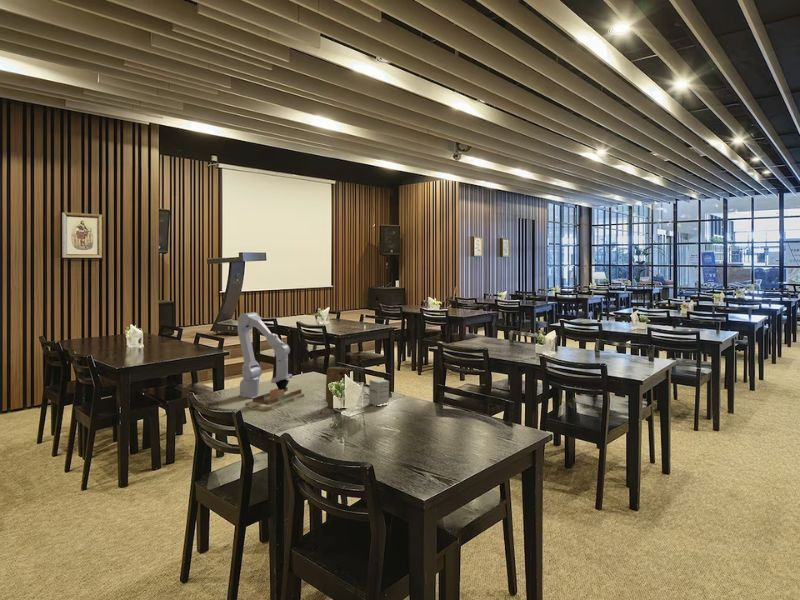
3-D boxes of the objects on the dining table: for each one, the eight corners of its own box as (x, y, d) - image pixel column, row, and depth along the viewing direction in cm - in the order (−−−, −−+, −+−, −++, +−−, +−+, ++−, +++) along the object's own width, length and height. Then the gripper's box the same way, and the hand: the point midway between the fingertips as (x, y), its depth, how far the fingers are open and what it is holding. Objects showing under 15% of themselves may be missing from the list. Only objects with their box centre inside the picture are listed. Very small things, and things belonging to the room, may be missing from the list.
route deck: (245, 407, 248) (245, 398, 248) (283, 393, 274) (283, 386, 274) (267, 411, 242) (268, 402, 242) (304, 397, 268) (304, 390, 268)
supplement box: (368, 404, 259) (369, 379, 258) (379, 401, 264) (380, 377, 263) (377, 407, 253) (378, 382, 252) (388, 405, 258) (389, 380, 257)
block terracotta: (269, 398, 257) (270, 390, 257) (276, 396, 262) (276, 388, 262) (277, 399, 255) (277, 391, 255) (284, 397, 260) (284, 389, 259)
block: (324, 407, 251) (324, 367, 250) (333, 404, 257) (334, 364, 256) (341, 411, 245) (342, 370, 244) (351, 407, 252) (351, 367, 250)
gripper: (279, 371, 253) (279, 398, 254) (297, 366, 266) (296, 392, 267) (267, 369, 256) (267, 396, 257) (286, 365, 269) (285, 390, 270)
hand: (281, 394), depth 262 cm, fingers closed
